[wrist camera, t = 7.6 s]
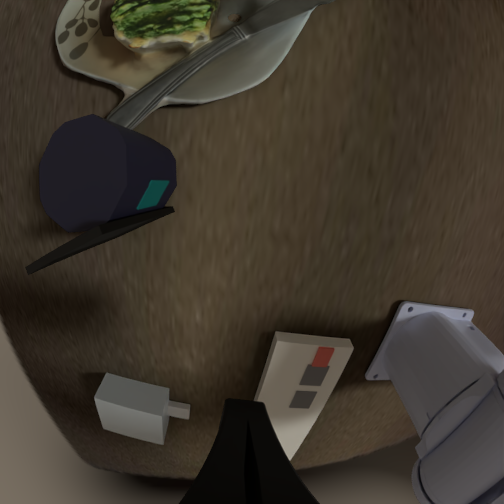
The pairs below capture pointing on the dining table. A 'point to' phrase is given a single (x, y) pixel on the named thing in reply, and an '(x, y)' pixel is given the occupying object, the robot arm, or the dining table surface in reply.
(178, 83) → the salad plate
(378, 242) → the dining table surface
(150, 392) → the charger
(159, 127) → the dining table surface
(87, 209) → the speaker
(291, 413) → the power strip
